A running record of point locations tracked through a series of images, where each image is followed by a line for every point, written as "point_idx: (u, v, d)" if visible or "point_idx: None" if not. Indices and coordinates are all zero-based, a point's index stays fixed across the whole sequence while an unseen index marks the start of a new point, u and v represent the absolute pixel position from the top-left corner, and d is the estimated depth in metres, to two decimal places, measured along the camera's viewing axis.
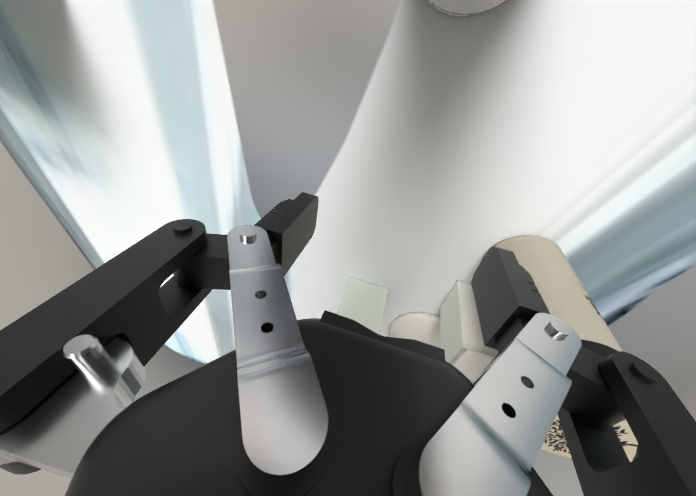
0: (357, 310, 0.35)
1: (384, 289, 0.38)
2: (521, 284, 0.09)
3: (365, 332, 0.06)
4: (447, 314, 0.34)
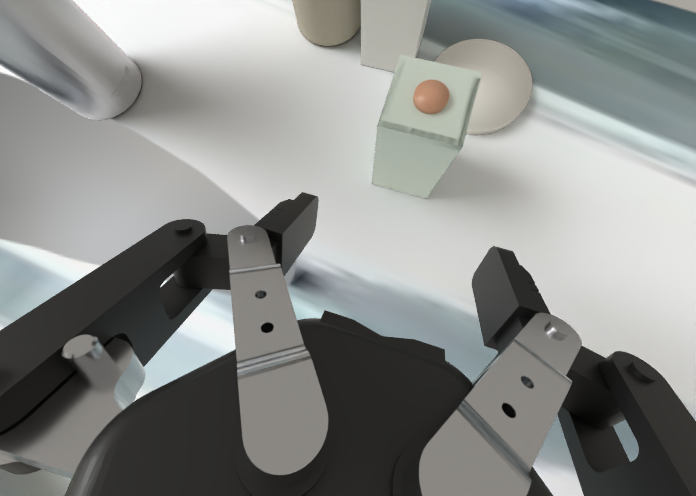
0: None
1: None
2: (521, 284, 0.09)
3: (365, 332, 0.06)
4: (393, 45, 0.27)
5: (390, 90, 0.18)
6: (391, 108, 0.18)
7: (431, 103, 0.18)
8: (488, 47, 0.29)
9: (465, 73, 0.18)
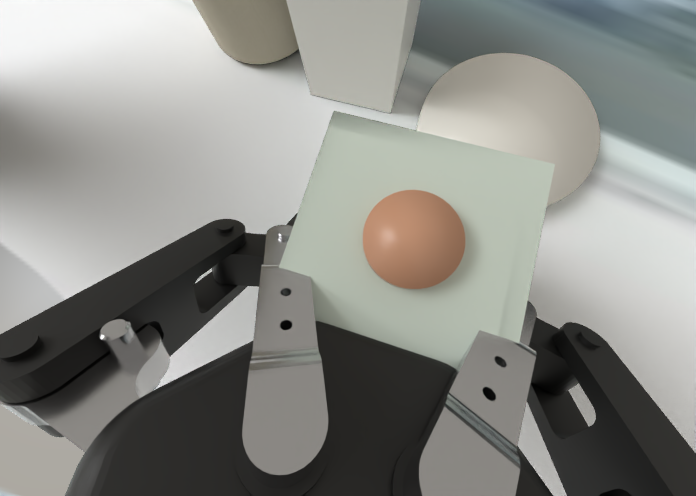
0: None
1: None
2: None
3: None
4: (355, 67, 0.15)
5: (302, 212, 0.07)
6: (302, 267, 0.07)
7: (412, 266, 0.06)
8: (520, 68, 0.17)
9: (508, 166, 0.07)
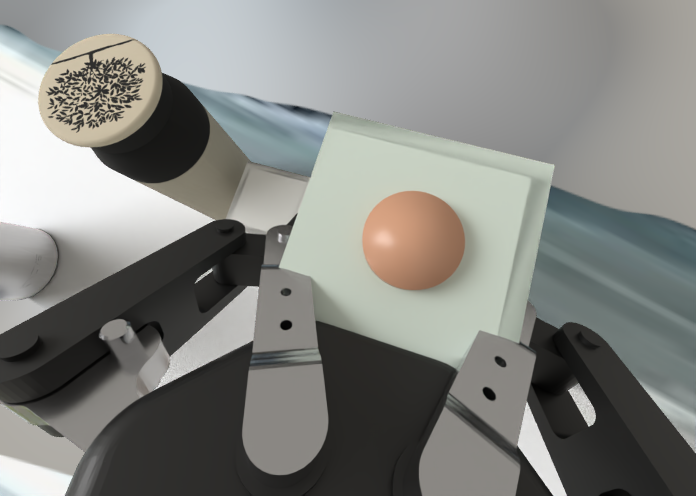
0: None
1: None
2: None
3: None
4: None
5: (302, 213, 0.07)
6: (301, 268, 0.07)
7: (412, 267, 0.06)
8: None
9: (507, 167, 0.07)
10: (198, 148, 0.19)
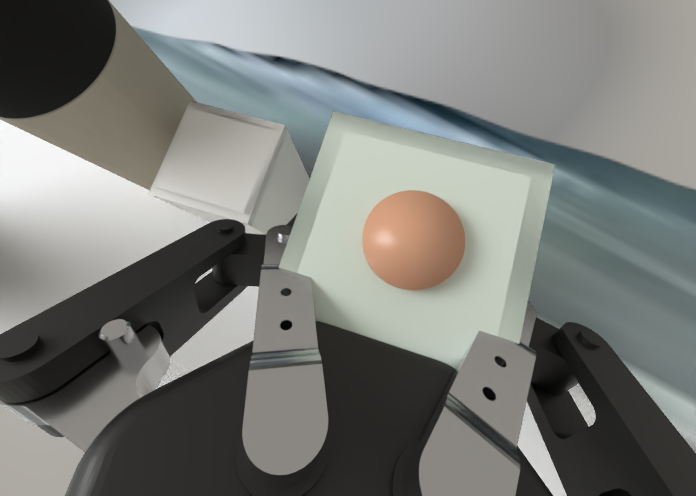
0: None
1: None
2: None
3: None
4: None
5: (302, 212, 0.07)
6: (301, 267, 0.06)
7: (412, 266, 0.06)
8: None
9: (508, 166, 0.07)
10: (88, 58, 0.11)
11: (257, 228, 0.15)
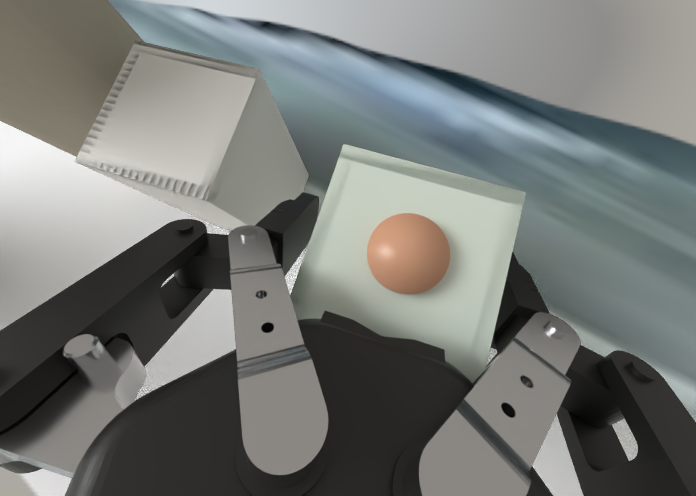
0: None
1: None
2: (520, 284, 0.09)
3: (365, 332, 0.06)
4: (234, 226, 0.17)
5: (317, 229, 0.08)
6: (316, 274, 0.08)
7: (407, 275, 0.07)
8: None
9: (487, 193, 0.08)
10: None
11: (224, 209, 0.11)
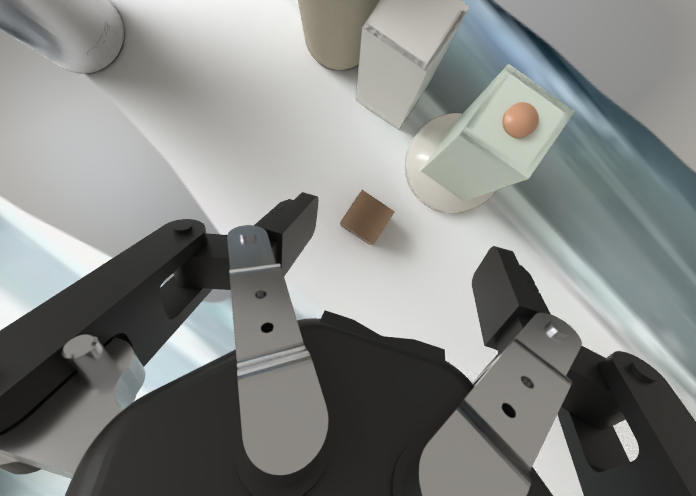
0: (454, 131, 0.23)
1: (449, 129, 0.28)
2: (521, 284, 0.09)
3: (365, 332, 0.06)
4: (385, 102, 0.27)
5: (486, 99, 0.19)
6: (480, 118, 0.19)
7: (518, 127, 0.18)
8: None
9: (559, 106, 0.19)
10: None
11: (422, 81, 0.21)
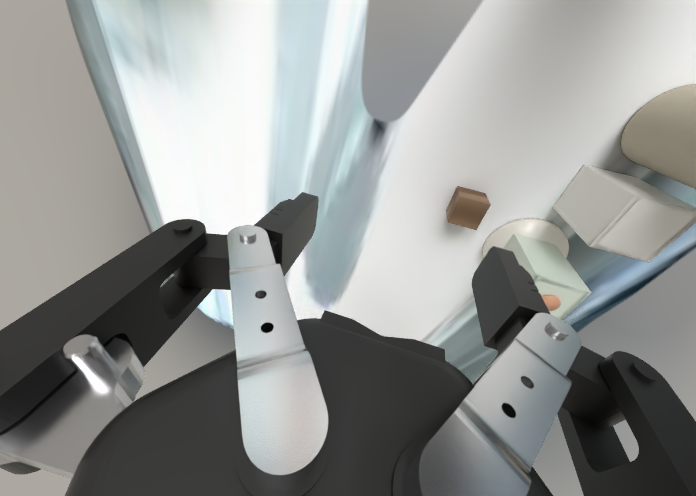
0: (544, 260, 0.33)
1: (553, 245, 0.37)
2: (521, 284, 0.09)
3: (365, 332, 0.06)
4: (575, 200, 0.31)
5: (563, 285, 0.29)
6: (548, 284, 0.30)
7: None
8: None
9: (559, 318, 0.32)
10: None
11: (583, 240, 0.28)
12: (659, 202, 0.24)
